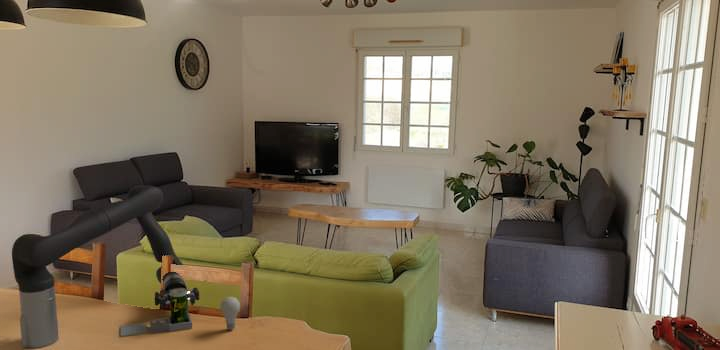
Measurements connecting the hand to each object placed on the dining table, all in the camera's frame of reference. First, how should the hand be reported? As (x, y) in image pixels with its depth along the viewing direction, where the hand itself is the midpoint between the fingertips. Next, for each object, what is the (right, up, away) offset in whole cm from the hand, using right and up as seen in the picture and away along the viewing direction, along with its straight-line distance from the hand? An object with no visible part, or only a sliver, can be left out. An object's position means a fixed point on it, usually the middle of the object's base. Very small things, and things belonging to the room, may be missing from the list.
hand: (178, 304), depth 180 cm
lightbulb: (+17, -8, -2) cm, 19 cm away
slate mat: (-13, -8, -3) cm, 16 cm away
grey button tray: (-2, -7, -1) cm, 8 cm away
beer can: (0, -7, +1) cm, 7 cm away
